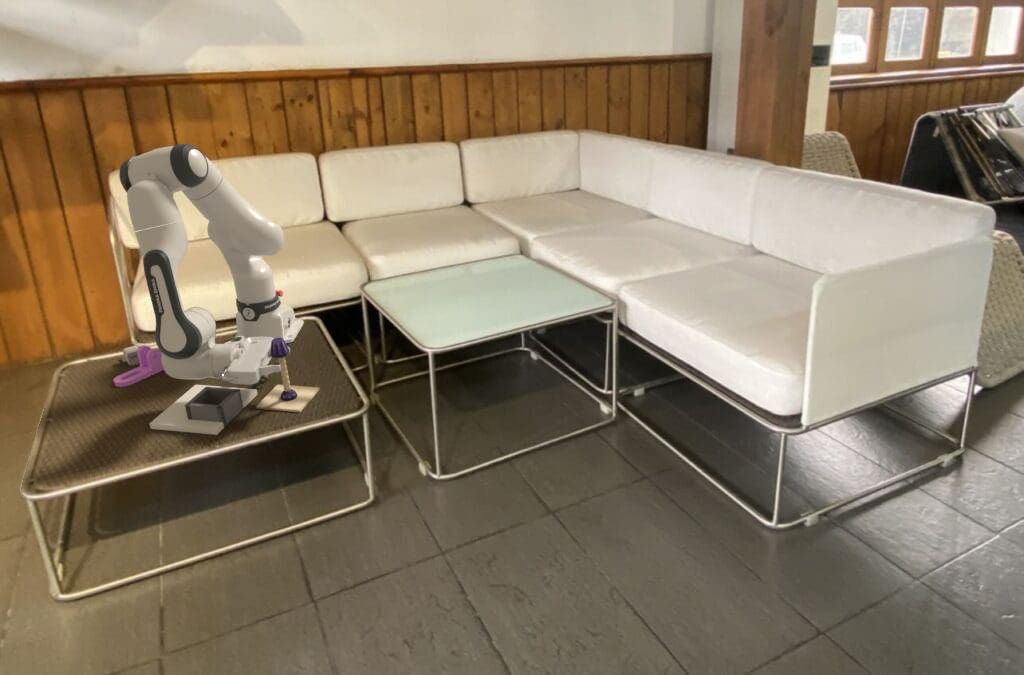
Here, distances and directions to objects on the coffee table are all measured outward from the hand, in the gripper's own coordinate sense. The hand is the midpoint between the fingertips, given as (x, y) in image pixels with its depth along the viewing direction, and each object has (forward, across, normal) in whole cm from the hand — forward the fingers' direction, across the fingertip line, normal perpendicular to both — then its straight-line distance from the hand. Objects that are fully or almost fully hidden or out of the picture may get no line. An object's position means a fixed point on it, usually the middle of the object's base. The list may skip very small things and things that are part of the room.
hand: (285, 359), depth 190 cm
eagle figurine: (-12, +8, +12) cm, 19 cm away
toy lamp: (-1, 0, +11) cm, 11 cm away
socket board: (-20, -5, +12) cm, 24 cm away
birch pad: (-1, 0, +12) cm, 12 cm away
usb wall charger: (-52, +26, +12) cm, 59 cm away
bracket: (-46, +16, +12) cm, 50 cm away
